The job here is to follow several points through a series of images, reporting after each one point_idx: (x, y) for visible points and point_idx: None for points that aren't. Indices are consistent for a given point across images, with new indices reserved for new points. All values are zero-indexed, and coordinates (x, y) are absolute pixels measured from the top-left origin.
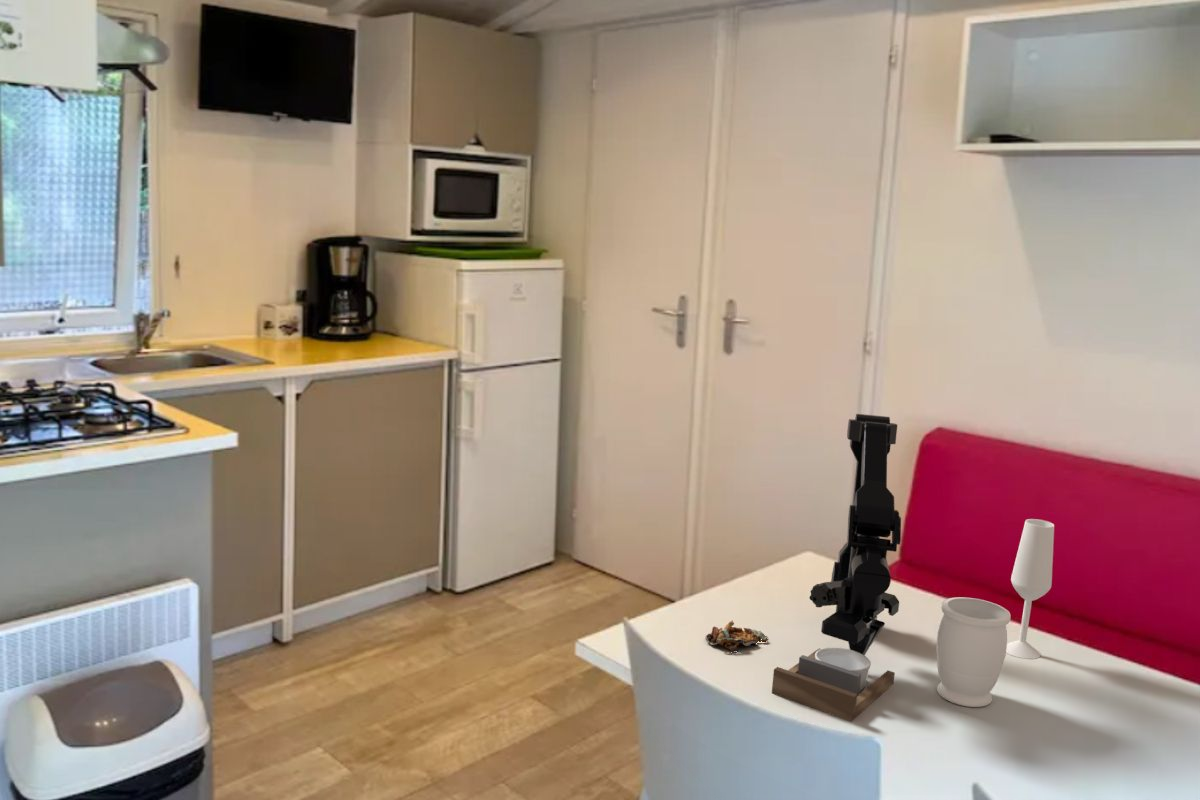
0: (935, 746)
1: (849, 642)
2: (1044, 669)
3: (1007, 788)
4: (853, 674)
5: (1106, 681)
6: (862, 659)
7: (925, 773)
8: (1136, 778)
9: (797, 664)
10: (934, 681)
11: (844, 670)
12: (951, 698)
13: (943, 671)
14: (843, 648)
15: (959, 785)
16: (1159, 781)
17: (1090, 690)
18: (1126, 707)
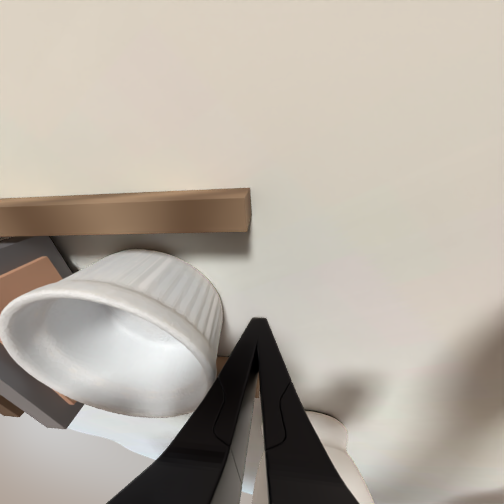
0: (132, 420)
1: (208, 394)
2: (487, 469)
3: (132, 450)
4: (41, 420)
5: (470, 493)
6: (200, 387)
7: (74, 420)
8: (242, 485)
9: (17, 211)
10: (330, 401)
11: (27, 407)
12: (262, 430)
13: (260, 491)
14: (192, 353)
15: (93, 434)
16: (250, 490)
17: (427, 485)
18: (393, 494)
